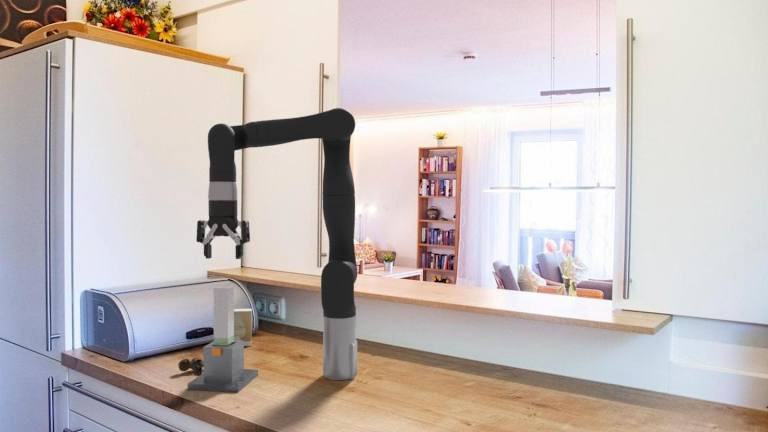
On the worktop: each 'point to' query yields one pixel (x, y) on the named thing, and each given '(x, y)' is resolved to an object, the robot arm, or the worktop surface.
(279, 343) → the worktop surface
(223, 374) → the stand base
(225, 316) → the column
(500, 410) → the worktop surface
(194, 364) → the regulator
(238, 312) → the skincare box
